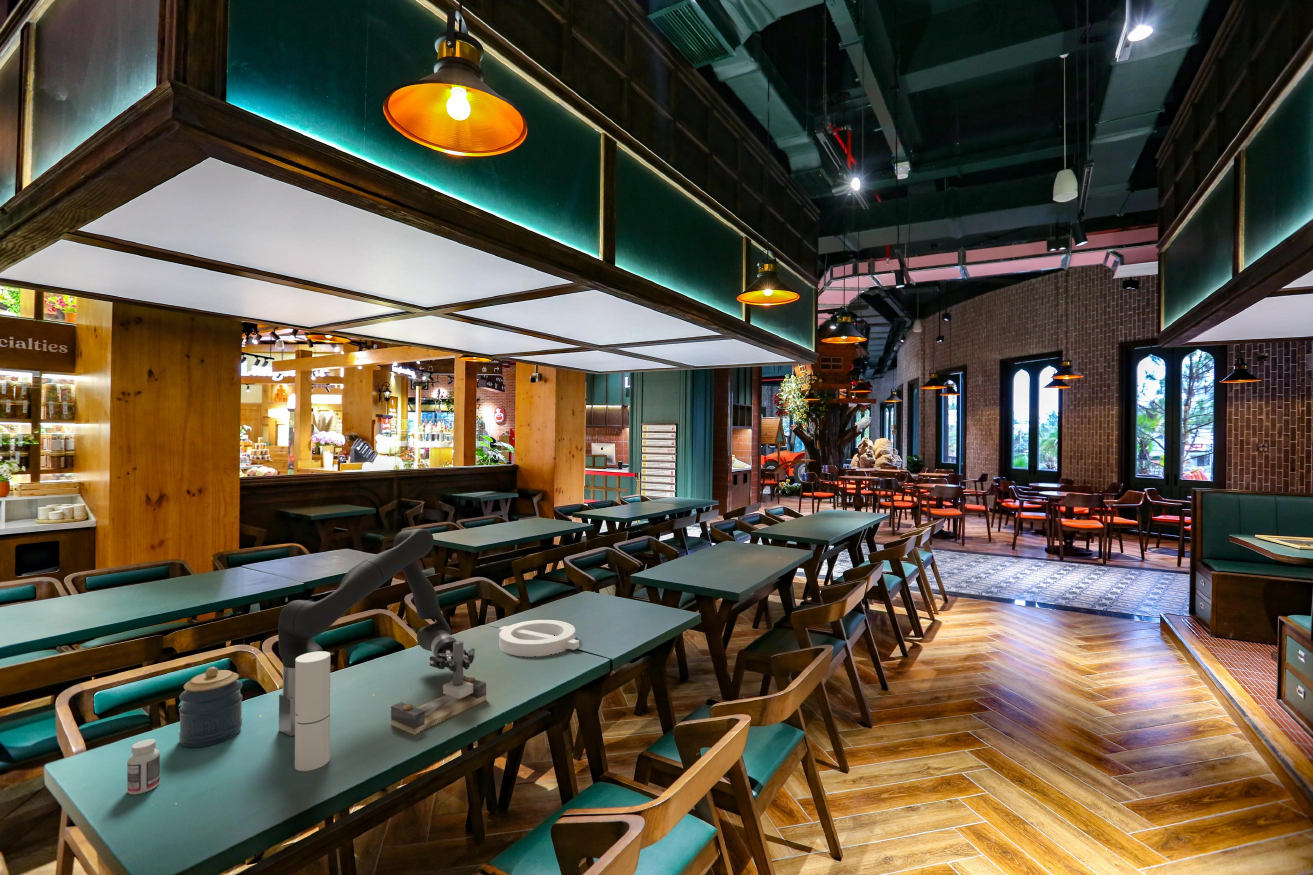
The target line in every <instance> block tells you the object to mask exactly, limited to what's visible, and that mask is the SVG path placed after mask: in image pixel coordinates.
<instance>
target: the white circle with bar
mask: <svg viewBox="0 0 1313 875" xmlns="http://www.w3.org/2000/svg"><path fill="white" fill-rule="evenodd" d="M554 635H555V636H554ZM498 636H499V638H498V640H499V644H498V645H499V649H500V651H502V653H505V654H508V655H511V656H515V657H523V656H524V657H530V658H531V657H532V658H534V656H536V657H544V656H551V655H550V654H552V655H555V653H556V654H559V652H560V653H562V652H565V651H567V650H572V651H574V650H577V649H578V648H580V640H578V639H576V628H575V626H574V625H573V624H571V623H568V622H565V621H561V620H555V619H554V620H553V619H535V620H527V621H521V622H518V623H517V622H516V623H514V624H513V623H512V624H511V625H507V626H506V625H504V626H501V627H499V628H498ZM566 649H567V650H566Z"/></svg>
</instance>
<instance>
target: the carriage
mask: <svg viewBox="0 0 1313 875" xmlns="http://www.w3.org/2000/svg"><path fill="white" fill-rule="evenodd" d="M456 641H457V642H454V643H453V661H454V662H455V664H456V672H453V671H452V680H451V681H449V682H446V683H444V684H442V694H443V695H449V696H452V697H455V698H458V699H460V698H463V697H465V696H467V695H469V694H471V693H473V684H472V683H469V682H466V681H463V676H464V667H463V649H464V641H462V640H460V641H459V640H456Z"/></svg>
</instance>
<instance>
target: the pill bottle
mask: <svg viewBox="0 0 1313 875" xmlns="http://www.w3.org/2000/svg"><path fill="white" fill-rule="evenodd" d="M156 747H157V741H156V739H154V738H149V739H147V738H146V739H143V740H140V741H138V742H135V743H134V744H132V745H131V755H130V756H129V757H128V758H127V761H126V762H127V763H126V764H127V766H126V768H127V769H126V770H127V771H126V772H127V773H126V775H127V777H126V778H127V779H126V781H127V784H126V785H127V788H126V789H127V794H129V795H140V794H144V793H146V792H147V793H148V792H150V791H152V790H153V789H155V788H157V787H158V786H159V785H160V782H161V774H160V773H161V752H160V751H161V750H159V748H158V749H157V748H156Z"/></svg>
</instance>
